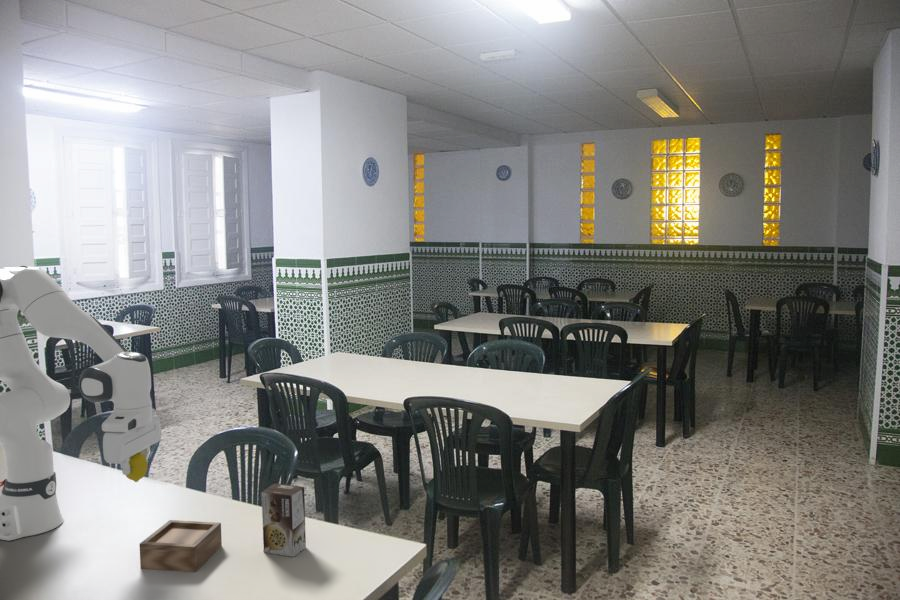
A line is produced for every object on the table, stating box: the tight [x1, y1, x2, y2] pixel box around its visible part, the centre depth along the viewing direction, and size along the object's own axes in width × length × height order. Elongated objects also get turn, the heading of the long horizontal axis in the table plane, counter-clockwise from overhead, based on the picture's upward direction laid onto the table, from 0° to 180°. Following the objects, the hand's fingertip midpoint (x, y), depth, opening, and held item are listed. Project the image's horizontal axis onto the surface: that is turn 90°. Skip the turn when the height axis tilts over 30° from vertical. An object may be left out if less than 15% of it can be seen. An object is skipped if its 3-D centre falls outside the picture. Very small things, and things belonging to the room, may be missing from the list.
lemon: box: [125, 452, 148, 483], centre depth 177 cm, size 6×6×8 cm
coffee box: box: [260, 483, 307, 558], centre depth 177 cm, size 9×6×16 cm
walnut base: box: [139, 519, 223, 573], centre depth 173 cm, size 14×14×6 cm
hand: (135, 469), depth 177 cm, fingers closed on lemon, 6 cm apart
